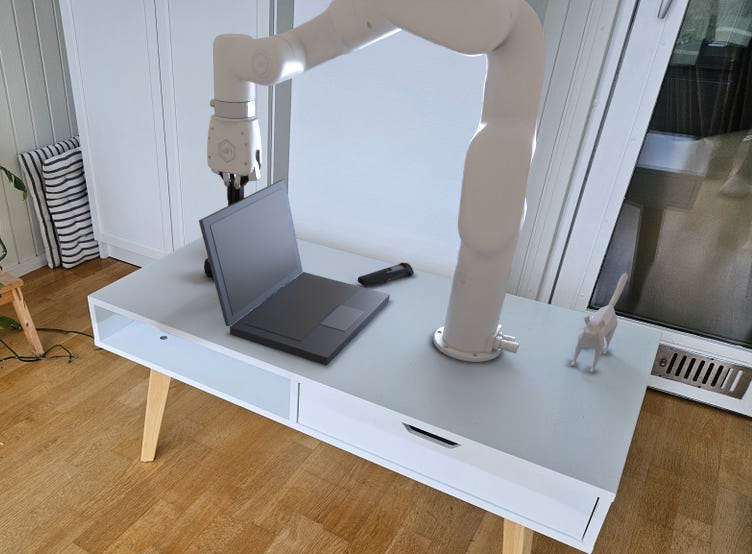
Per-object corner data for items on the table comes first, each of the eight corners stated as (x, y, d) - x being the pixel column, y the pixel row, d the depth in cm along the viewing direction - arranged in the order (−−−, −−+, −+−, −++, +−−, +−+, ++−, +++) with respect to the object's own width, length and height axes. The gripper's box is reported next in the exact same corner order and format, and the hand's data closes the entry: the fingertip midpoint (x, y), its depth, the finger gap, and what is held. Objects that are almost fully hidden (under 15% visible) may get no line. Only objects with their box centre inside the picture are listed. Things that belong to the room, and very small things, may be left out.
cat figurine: (561, 374, 114) (583, 305, 106) (592, 332, 127) (614, 267, 119) (587, 384, 111) (611, 313, 104) (616, 339, 125) (640, 273, 117)
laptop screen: (285, 178, 136) (281, 179, 136) (202, 220, 114) (198, 220, 115) (303, 271, 145) (299, 271, 145) (229, 326, 123) (225, 326, 123)
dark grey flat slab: (388, 301, 137) (389, 293, 136) (326, 366, 115) (327, 357, 114) (302, 278, 145) (303, 271, 144) (229, 334, 124) (229, 326, 123)
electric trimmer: (352, 286, 143) (353, 273, 142) (403, 270, 150) (405, 258, 149) (363, 292, 141) (364, 279, 139) (414, 276, 148) (416, 263, 146)
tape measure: (206, 282, 143) (205, 267, 141) (202, 270, 149) (202, 255, 146) (236, 280, 144) (236, 265, 142) (231, 267, 150) (231, 253, 148)
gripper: (190, 107, 118) (194, 203, 128) (258, 118, 112) (257, 218, 121) (213, 101, 123) (215, 194, 133) (279, 110, 117) (277, 207, 127)
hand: (235, 205), depth 127 cm, fingers closed
